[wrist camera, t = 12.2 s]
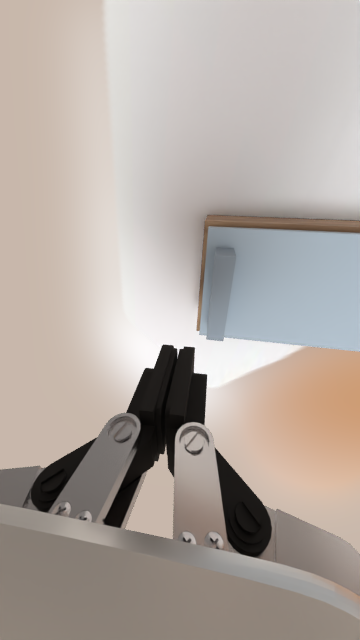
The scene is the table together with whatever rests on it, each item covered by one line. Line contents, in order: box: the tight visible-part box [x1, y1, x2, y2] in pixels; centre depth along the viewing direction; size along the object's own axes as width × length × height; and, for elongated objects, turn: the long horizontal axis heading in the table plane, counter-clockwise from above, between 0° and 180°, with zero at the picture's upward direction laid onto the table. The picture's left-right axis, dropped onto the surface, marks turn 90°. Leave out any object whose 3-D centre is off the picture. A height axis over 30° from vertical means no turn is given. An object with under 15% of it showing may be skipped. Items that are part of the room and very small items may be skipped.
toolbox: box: [197, 215, 360, 331], centre depth 23 cm, size 12×33×6 cm, turn 90°
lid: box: [199, 226, 360, 352], centre depth 19 cm, size 11×19×4 cm, turn 90°
